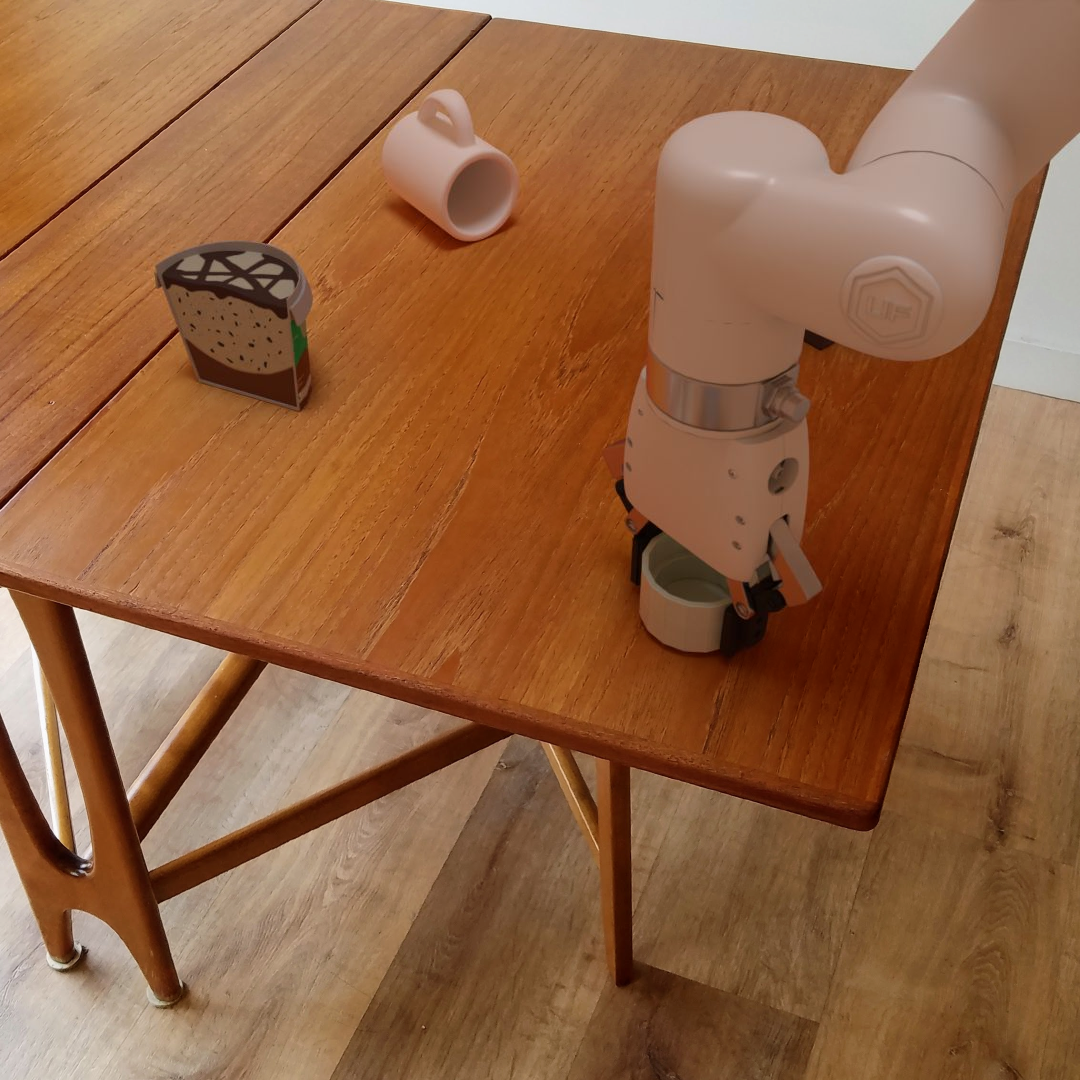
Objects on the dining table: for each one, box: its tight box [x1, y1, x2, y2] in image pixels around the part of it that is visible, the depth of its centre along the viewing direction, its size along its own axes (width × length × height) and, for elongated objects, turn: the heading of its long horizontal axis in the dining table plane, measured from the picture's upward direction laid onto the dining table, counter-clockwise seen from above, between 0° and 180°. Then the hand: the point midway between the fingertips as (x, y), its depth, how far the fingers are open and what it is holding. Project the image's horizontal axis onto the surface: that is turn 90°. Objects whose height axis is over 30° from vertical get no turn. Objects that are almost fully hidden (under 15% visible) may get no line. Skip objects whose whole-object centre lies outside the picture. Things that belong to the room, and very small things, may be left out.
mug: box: [380, 88, 520, 242], centre depth 102 cm, size 8×10×12 cm
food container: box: [154, 240, 314, 413], centre depth 86 cm, size 12×6×10 cm, turn 65°
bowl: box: [638, 531, 759, 654], centre depth 69 cm, size 7×7×4 cm
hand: (695, 606), depth 70 cm, fingers closed on bowl, 6 cm apart
